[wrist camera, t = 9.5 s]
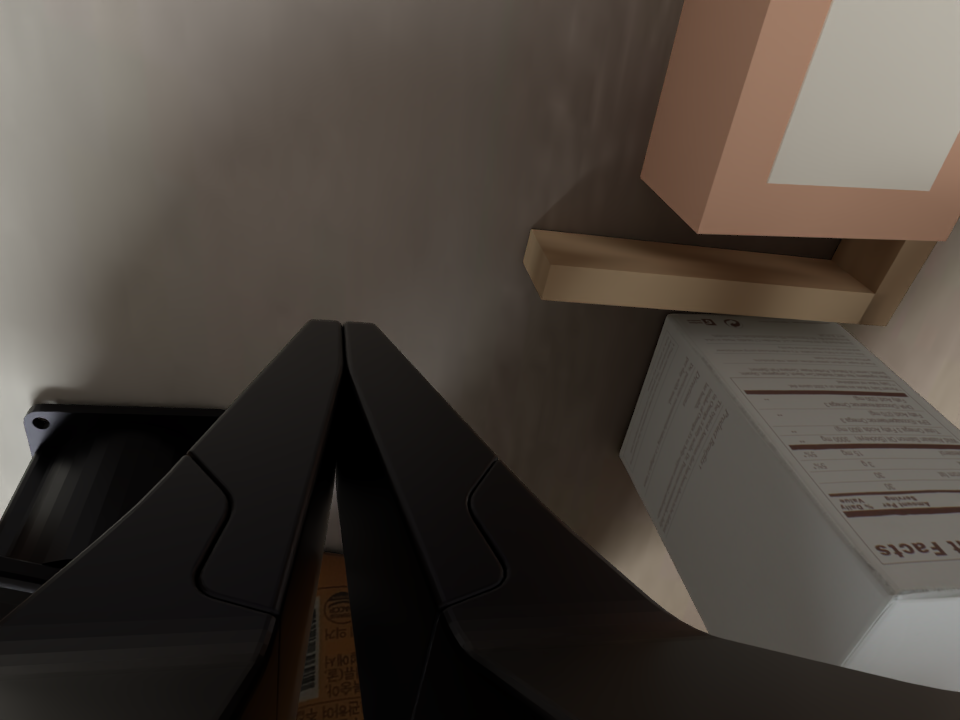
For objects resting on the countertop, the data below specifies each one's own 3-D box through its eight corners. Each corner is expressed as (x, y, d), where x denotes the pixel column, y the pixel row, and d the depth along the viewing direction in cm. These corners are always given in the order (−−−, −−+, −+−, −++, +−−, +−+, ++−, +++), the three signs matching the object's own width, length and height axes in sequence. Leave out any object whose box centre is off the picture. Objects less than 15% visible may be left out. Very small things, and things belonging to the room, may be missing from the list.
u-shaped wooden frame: (522, 262, 23) (541, 299, 21) (700, -470, 14) (764, -531, 12) (843, 291, 26) (885, 326, 24) (1158, -287, 17) (1270, -309, 15)
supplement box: (764, 453, 30) (979, 740, 20) (612, 454, 29) (764, 769, 19) (838, 313, 26) (1152, 586, 16) (666, 304, 25) (897, 603, 15)
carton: (637, 174, 22) (698, 234, 18) (737, -233, 16) (856, -266, 12) (851, 185, 23) (947, 242, 20) (1010, -182, 18) (1186, -196, 14)
